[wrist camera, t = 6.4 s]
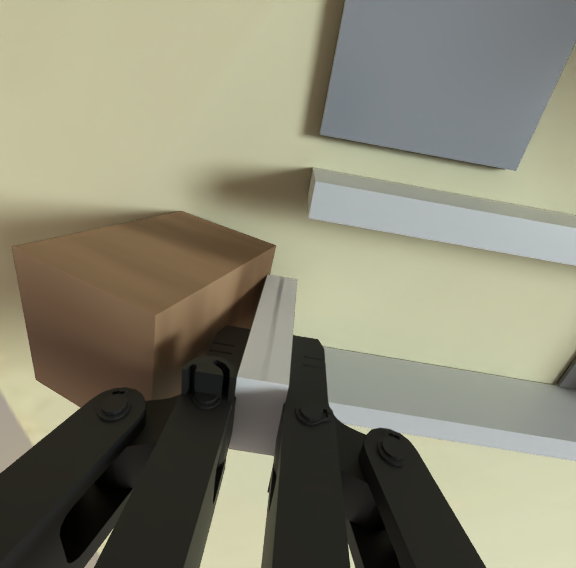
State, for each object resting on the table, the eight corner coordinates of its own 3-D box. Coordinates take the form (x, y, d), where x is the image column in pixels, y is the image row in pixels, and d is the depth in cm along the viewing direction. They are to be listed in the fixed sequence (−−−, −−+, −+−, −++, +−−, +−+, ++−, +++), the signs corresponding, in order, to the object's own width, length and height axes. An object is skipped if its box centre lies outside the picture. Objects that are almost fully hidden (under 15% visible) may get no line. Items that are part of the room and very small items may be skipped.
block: (181, 210, 15) (11, 246, 9) (276, 245, 13) (155, 315, 7) (174, 301, 17) (36, 379, 11) (255, 338, 16) (149, 450, 10)
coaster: (375, -159, 9) (378, -176, 9) (631, -105, 10) (650, -118, 9) (319, 134, 13) (319, 134, 12) (507, 169, 13) (515, 171, 13)
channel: (313, 167, 14) (315, 181, 10) (778, 252, 14) (940, 294, 10) (277, 356, 18) (270, 412, 15) (628, 414, 19) (705, 481, 15)
